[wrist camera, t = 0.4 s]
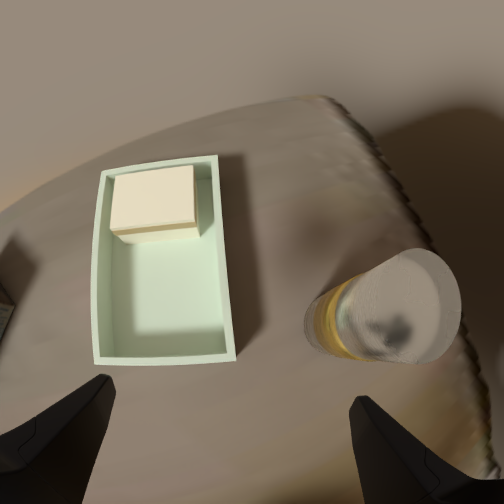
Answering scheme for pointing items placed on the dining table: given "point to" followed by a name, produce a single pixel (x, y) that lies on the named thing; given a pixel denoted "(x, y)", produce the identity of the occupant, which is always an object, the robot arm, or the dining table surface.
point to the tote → (162, 284)
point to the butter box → (156, 205)
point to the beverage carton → (5, 309)
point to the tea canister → (389, 312)
